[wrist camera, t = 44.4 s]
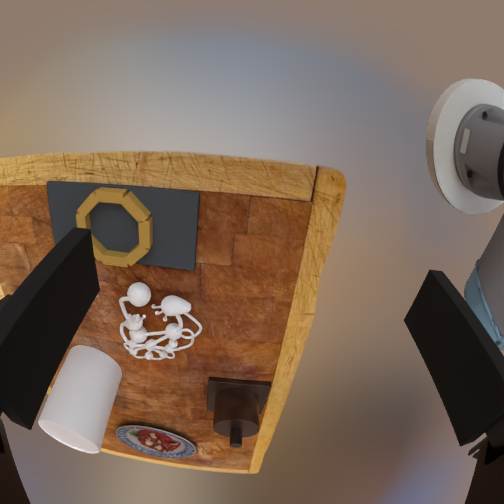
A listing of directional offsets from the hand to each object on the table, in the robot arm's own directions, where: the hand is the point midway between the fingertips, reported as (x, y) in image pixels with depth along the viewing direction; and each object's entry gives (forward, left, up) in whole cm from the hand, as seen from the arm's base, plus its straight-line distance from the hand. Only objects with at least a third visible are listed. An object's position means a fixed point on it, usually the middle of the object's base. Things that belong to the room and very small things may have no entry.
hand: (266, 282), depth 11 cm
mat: (+18, +14, -29) cm, 36 cm away
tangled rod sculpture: (+12, +32, -29) cm, 45 cm away
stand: (-4, +53, -29) cm, 60 cm away
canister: (+29, +50, -29) cm, 65 cm away
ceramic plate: (+18, +87, -29) cm, 93 cm away
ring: (+18, +14, -28) cm, 36 cm away
